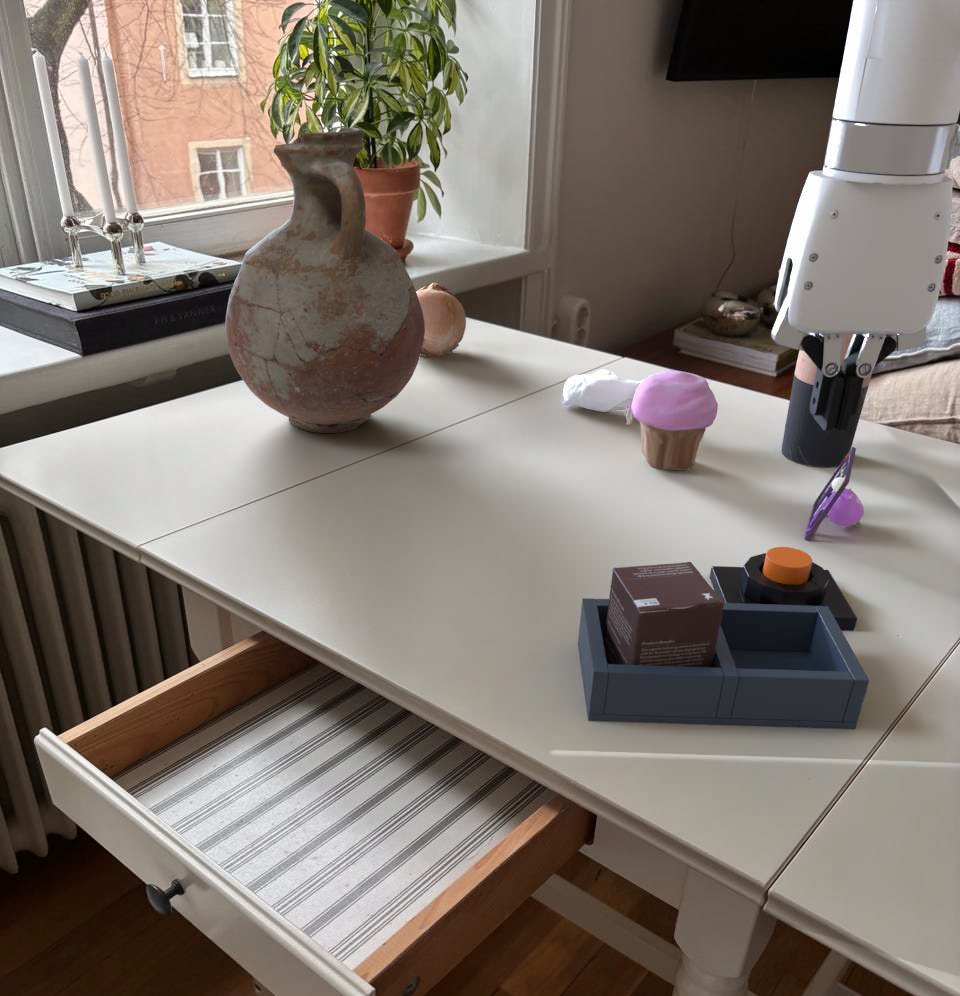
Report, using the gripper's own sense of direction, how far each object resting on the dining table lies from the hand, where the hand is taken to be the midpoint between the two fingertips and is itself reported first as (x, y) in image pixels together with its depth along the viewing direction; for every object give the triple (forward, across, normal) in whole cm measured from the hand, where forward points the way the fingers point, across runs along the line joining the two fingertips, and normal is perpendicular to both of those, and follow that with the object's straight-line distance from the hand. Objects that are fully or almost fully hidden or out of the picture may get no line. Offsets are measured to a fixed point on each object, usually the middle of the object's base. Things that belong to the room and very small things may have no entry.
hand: (829, 424), depth 74 cm
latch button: (+12, +1, +1) cm, 13 cm away
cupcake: (+15, +6, -28) cm, 33 cm away
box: (+14, +13, +13) cm, 23 cm away
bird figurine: (+15, +12, -44) cm, 48 cm away
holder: (+15, +9, +13) cm, 22 cm away
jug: (+14, +43, -38) cm, 60 cm away
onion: (+15, +33, -65) cm, 75 cm away
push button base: (+15, +1, +1) cm, 15 cm away
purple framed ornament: (+15, -8, -14) cm, 22 cm away
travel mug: (+15, -11, -32) cm, 37 cm away
